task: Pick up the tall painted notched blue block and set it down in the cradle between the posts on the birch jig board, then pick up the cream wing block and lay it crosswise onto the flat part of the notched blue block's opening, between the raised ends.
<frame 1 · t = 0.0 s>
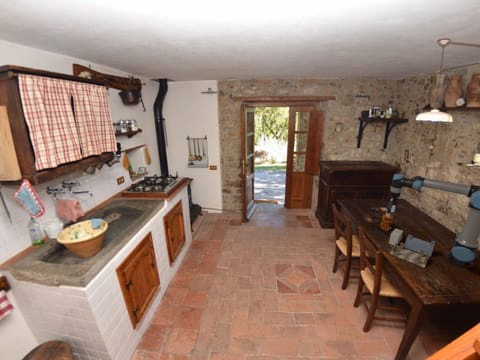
hand: (390, 214, 190), 28 cm above the table, fingers open, 13 cm apart
wing bar: (394, 241, 198), on the table
notched blue block: (417, 250, 186), on the table
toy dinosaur: (385, 229, 219), on the table
jig board: (408, 256, 178), on the table
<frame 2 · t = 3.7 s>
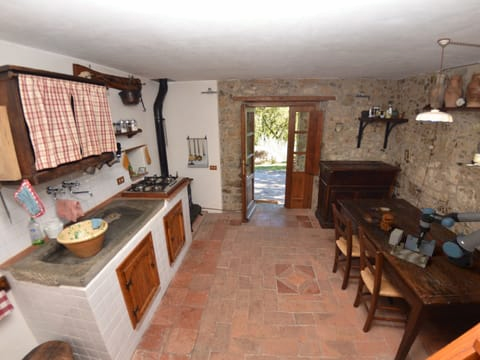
hand: (418, 248, 186), 1 cm above the table, fingers closed on notched blue block, 7 cm apart
notched blue block: (417, 250, 186), on the table, touching gripper
everything else where it was.
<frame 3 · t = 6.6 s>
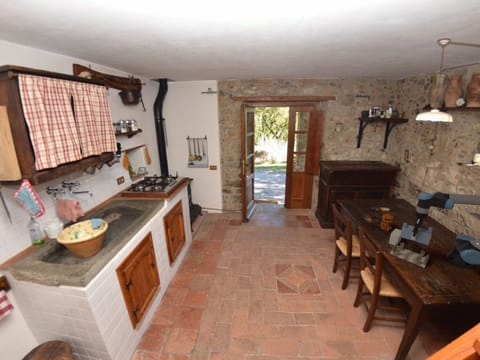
hand: (414, 237, 173), 18 cm above the table, fingers closed on notched blue block, 7 cm apart
notched blue block: (413, 238, 173), point 17 cm above the table, touching gripper
everything else where it was.
when the fingers open (4 cm above the table, at t = 9.4 s): notched blue block drops 1 cm, resting on jig board.
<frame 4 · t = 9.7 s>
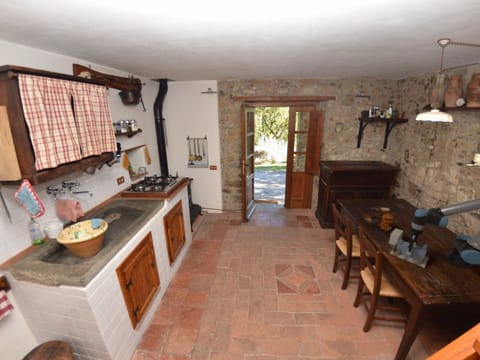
hand: (410, 251, 177), 5 cm above the table, fingers open, 10 cm apart
notched blue block: (409, 255, 178), point 1 cm above the table, touching jig board
everything else where it was.
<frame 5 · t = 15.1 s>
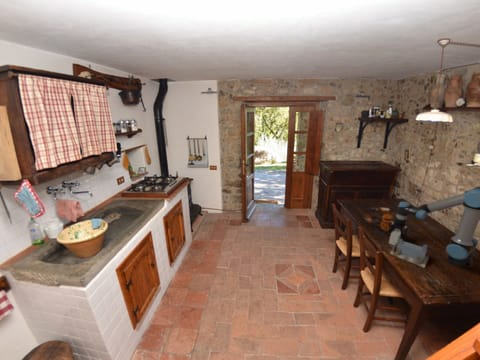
hand: (395, 240, 198), 1 cm above the table, fingers closed on wing bar, 6 cm apart
wing bar: (394, 241, 198), on the table, touching gripper
everything else where it was.
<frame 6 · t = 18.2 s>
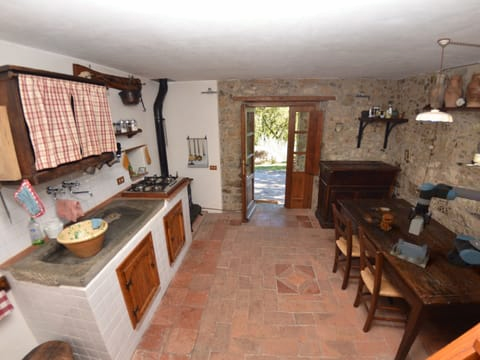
hand: (415, 229, 171), 25 cm above the table, fingers closed on wing bar, 6 cm apart
wing bar: (415, 230, 172), point 24 cm above the table, touching gripper
everything else where it was.
when the fingers open (13 cm above the table, at t = 21.5 s): wing bar drops 1 cm, resting on notched blue block.
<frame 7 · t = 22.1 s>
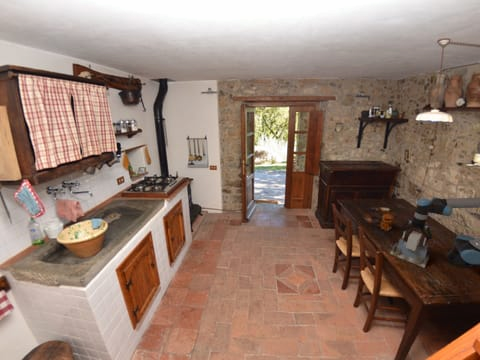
hand: (413, 241, 174), 14 cm above the table, fingers open, 13 cm apart
wing bar: (412, 245, 175), point 10 cm above the table, touching notched blue block
notched blue block: (409, 255, 178), point 1 cm above the table, touching gripper, jig board, wing bar
everything else where it was.
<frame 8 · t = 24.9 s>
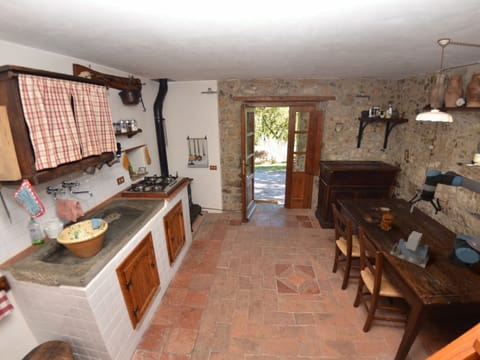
hand: (421, 214, 170), 37 cm above the table, fingers open, 13 cm apart
notched blue block: (409, 255, 178), point 1 cm above the table, touching jig board, wing bar
everything else where it was.
at the end: notched blue block 0.5 cm off-centre on the jig board, point 1.2 cm above the jig board's base; wing bar 0.0 cm off-centre on the notched blue block, point 9.0 cm above the notched blue block's base; wing bar tilted 0° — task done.
